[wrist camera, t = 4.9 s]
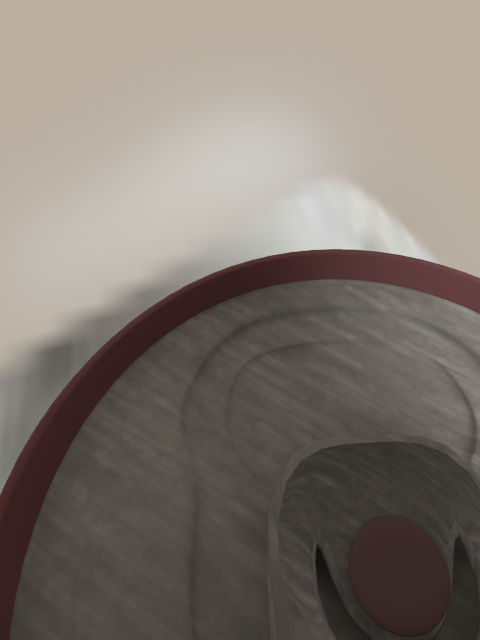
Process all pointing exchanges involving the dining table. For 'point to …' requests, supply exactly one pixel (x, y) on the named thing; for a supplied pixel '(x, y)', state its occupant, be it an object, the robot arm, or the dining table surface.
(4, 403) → the dining table surface
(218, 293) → the soda can
